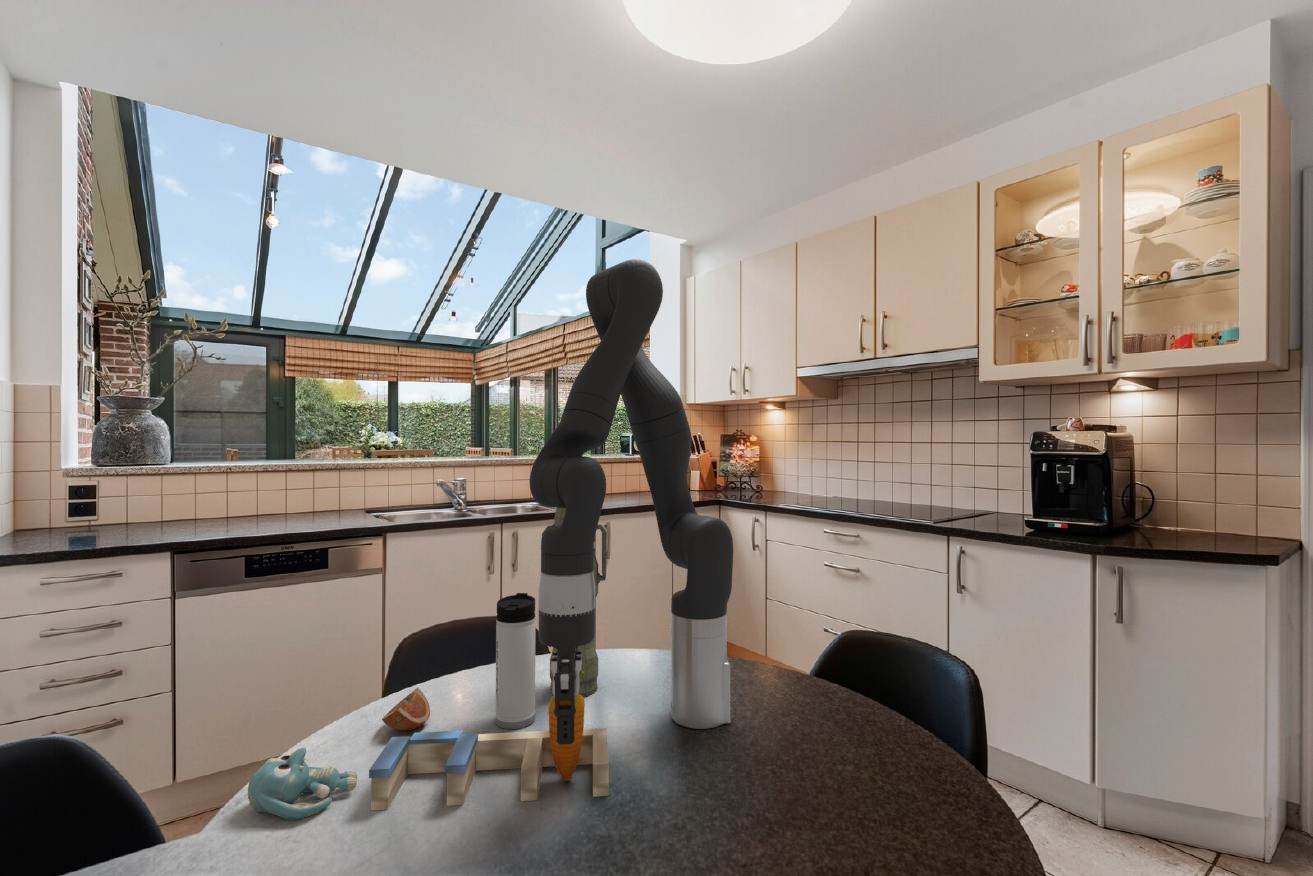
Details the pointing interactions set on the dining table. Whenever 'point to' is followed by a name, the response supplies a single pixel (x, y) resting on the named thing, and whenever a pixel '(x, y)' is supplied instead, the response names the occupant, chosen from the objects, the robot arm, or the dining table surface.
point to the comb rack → (478, 761)
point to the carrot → (567, 753)
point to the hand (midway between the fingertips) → (566, 732)
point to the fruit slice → (409, 712)
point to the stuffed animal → (295, 786)
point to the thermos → (588, 651)
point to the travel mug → (515, 661)
